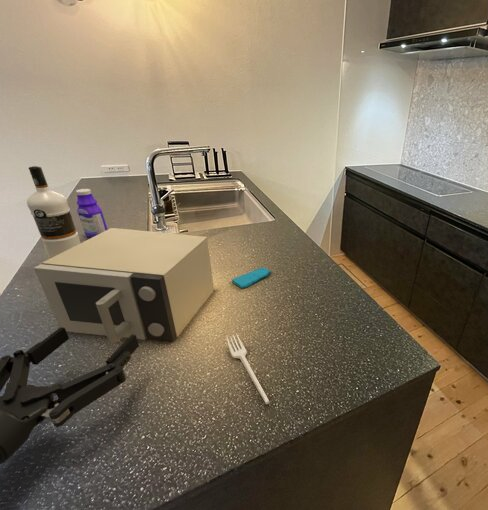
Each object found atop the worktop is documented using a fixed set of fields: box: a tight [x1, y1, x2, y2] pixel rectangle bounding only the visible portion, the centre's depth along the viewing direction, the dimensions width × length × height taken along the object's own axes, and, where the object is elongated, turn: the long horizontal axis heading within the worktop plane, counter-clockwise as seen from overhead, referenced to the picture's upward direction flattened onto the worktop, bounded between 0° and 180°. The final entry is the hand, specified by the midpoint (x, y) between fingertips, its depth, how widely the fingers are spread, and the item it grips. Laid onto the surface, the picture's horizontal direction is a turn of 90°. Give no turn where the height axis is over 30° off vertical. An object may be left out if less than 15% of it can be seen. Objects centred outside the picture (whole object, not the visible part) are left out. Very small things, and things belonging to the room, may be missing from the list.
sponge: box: [231, 267, 272, 289], centre depth 95 cm, size 2×12×6 cm
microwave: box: [41, 227, 215, 343], centre depth 75 cm, size 22×26×17 cm
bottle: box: [75, 188, 108, 239], centre depth 110 cm, size 7×6×17 cm
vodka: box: [26, 165, 82, 260], centre depth 88 cm, size 9×9×30 cm
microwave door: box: [33, 263, 147, 345], centre depth 64 cm, size 7×20×17 cm, turn 87°
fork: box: [226, 333, 271, 405], centre depth 64 cm, size 3×20×2 cm, turn 36°
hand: (100, 336), depth 57 cm, fingers open, 13 cm apart
